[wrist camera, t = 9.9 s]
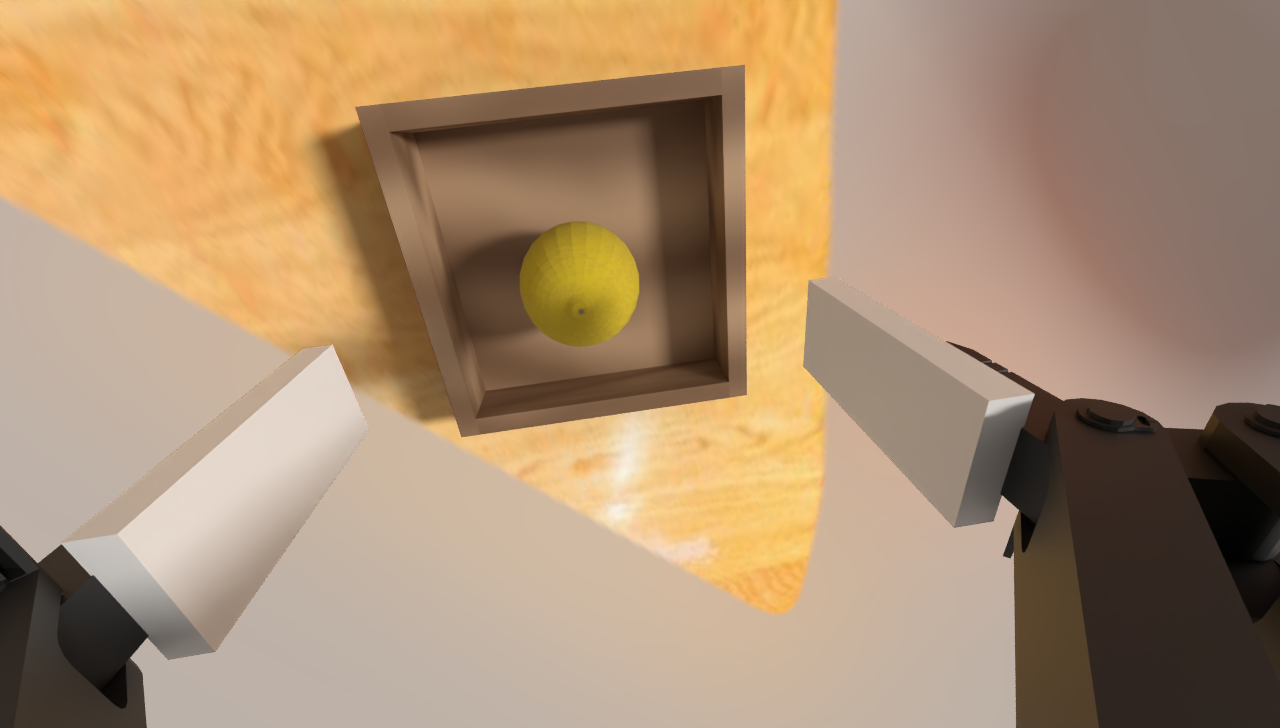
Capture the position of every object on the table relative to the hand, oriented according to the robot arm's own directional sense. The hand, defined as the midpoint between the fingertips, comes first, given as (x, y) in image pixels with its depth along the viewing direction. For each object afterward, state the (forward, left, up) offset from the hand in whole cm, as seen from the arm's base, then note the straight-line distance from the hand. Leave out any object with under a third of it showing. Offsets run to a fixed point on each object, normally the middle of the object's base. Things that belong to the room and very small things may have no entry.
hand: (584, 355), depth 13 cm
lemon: (+1, 0, -14) cm, 14 cm away
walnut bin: (0, 0, -14) cm, 14 cm away
